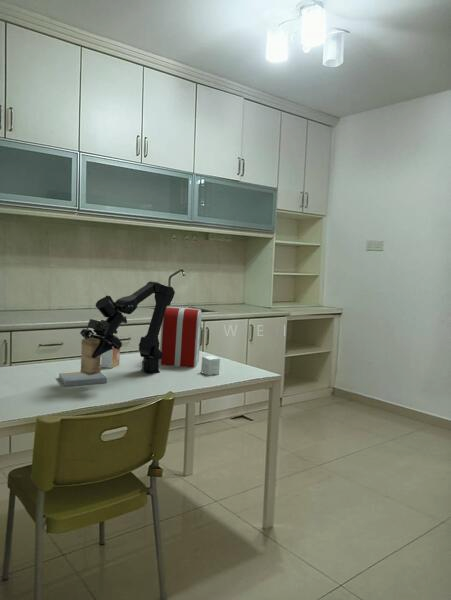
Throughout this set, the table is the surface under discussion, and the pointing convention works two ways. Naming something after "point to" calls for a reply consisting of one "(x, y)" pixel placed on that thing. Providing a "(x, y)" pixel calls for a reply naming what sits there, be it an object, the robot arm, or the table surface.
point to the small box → (110, 358)
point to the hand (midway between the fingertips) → (88, 356)
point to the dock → (81, 378)
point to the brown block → (90, 357)
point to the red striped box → (180, 337)
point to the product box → (210, 365)
